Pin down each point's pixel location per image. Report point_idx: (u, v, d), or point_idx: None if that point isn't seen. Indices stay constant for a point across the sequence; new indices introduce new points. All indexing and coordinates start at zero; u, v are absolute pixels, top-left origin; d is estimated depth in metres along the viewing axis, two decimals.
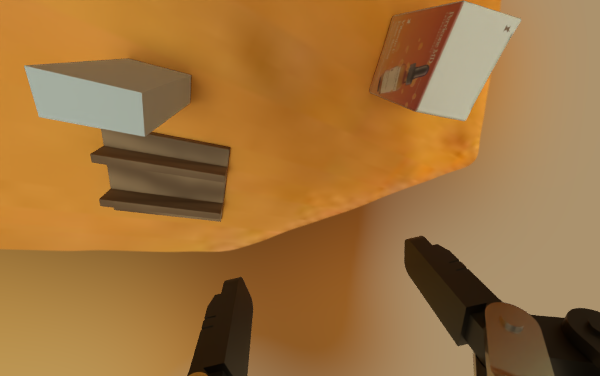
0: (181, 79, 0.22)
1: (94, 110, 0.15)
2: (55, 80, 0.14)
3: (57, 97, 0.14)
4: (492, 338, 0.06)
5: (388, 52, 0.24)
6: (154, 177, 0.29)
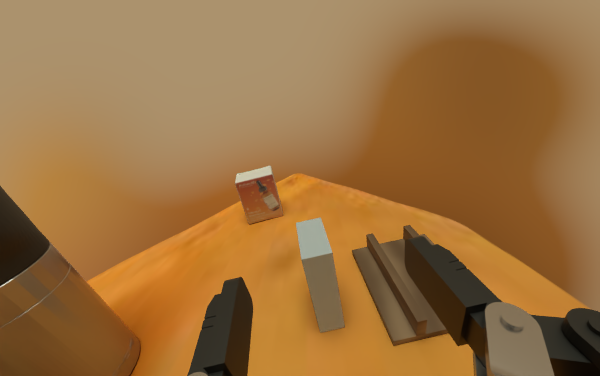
0: None
1: (315, 234, 0.24)
2: (304, 248, 0.22)
3: (314, 247, 0.22)
4: (492, 338, 0.06)
5: (262, 213, 0.49)
6: None
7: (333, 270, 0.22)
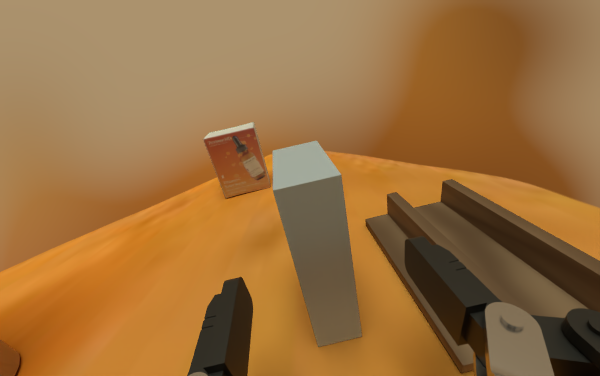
0: None
1: (305, 157, 0.12)
2: (281, 175, 0.11)
3: (303, 171, 0.11)
4: (492, 338, 0.06)
5: (242, 184, 0.37)
6: (485, 267, 0.17)
7: (343, 219, 0.11)
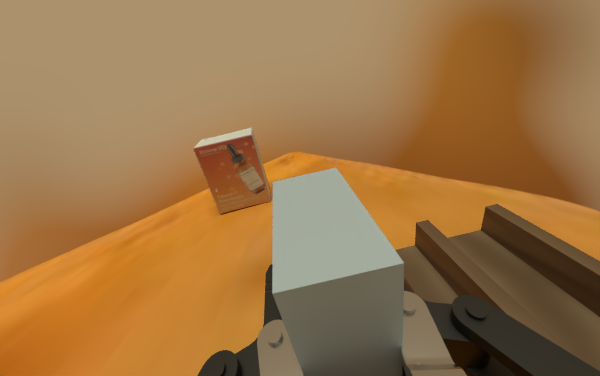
0: None
1: (324, 204, 0.08)
2: (288, 247, 0.06)
3: (326, 241, 0.06)
4: None
5: (239, 198, 0.33)
6: (568, 340, 0.12)
7: (396, 327, 0.06)
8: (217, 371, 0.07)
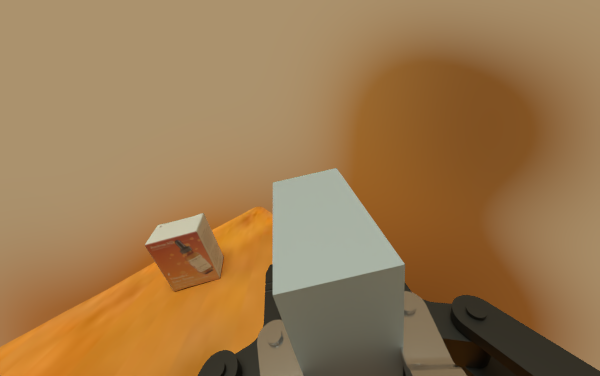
0: None
1: (324, 205, 0.08)
2: (288, 248, 0.06)
3: (326, 242, 0.06)
4: None
5: (190, 278, 0.37)
6: None
7: (397, 328, 0.06)
8: (217, 371, 0.07)
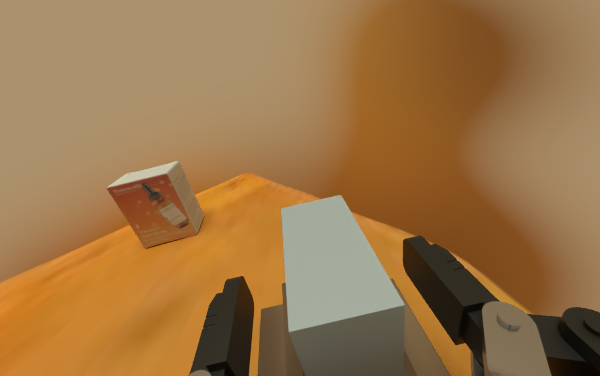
0: None
1: (331, 236, 0.08)
2: (300, 283, 0.07)
3: (334, 278, 0.07)
4: (489, 337, 0.06)
5: (162, 232, 0.33)
6: None
7: (397, 356, 0.07)
8: None
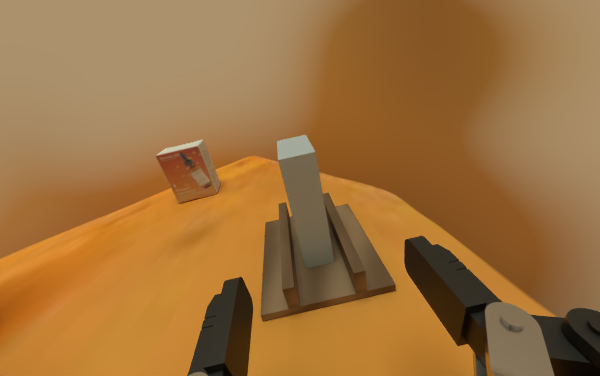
0: None
1: (297, 144, 0.20)
2: (283, 153, 0.19)
3: (295, 151, 0.19)
4: (492, 338, 0.06)
5: (192, 191, 0.45)
6: None
7: (317, 178, 0.19)
8: None
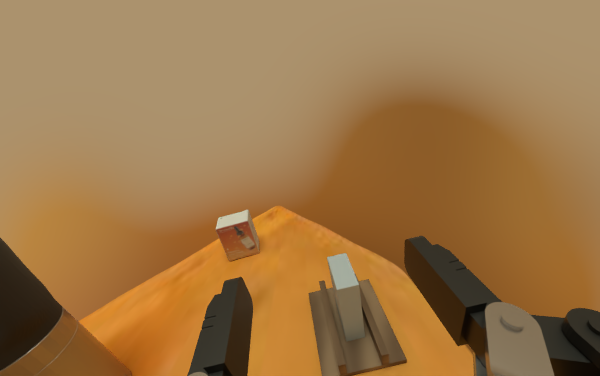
0: (334, 293, 0.39)
1: (343, 268, 0.32)
2: (337, 280, 0.31)
3: (345, 279, 0.31)
4: (492, 338, 0.06)
5: (240, 252, 0.57)
6: None
7: (359, 296, 0.31)
8: None
